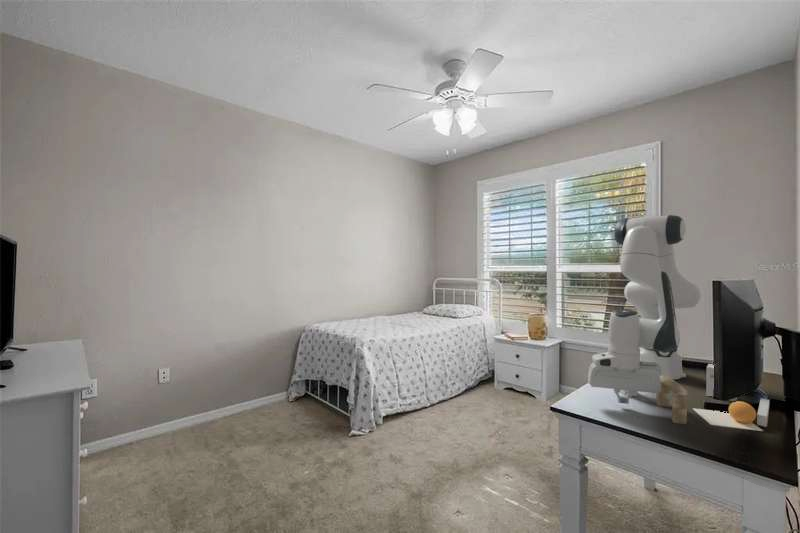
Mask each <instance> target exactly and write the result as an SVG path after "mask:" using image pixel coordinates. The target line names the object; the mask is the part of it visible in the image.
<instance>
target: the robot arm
mask: <svg viewBox="0 0 800 533" xmlns="http://www.w3.org/2000/svg"><path fill="white" fill-rule="evenodd" d="M686 226H687V225H686V224H685V221H684V220H683V217H681V216H679V215H673V214H669V215H647V216H639V217H632V218H628V217H627V218H624V219H620V220H618V221H617V223H616V224H615V225H614V229H613V237H614V240H615V242H616V243H617V244H618V245H620V246H622V248H621V252H620V263H619V264H620V265H619V266H620V271H621V273H622V275H623V276H624V277H625V278H626V279H628V280H629V282H627V284H626V285H625V287H624V290H623V293H624V294H623V295H624V298H625V299H626V301H627V302H628V303H630V304H631V305H632V306H633V307H634V308H635V309H636V310H637V311H638V312H637V311H636V310H634V309H629V308H617V309H615V310H612V311H611V312H610V317H609V322H608V340H609V345H608V348H607V351H605V352H601V353H595V354H593V355H592V357H591V358H592V363H591V364H590V365H589V368H588V372H587V373H588V374H587V381H588V384H589V385H590V386H591V387H593V388H600V389H601V388H602V389H612V390H613V391H614V394H615V396H616V397H617V398H616V400H617V403H618V404H626V405H627V404H630V399H631V397H633V396H632V395H633V391H638V392H640V393H641V392H642V393H649V394H650V393H652V394H657V393H659V392H660V391H661V380H660V376H661V375H668V376H669V377H670V378H671V379H673V380H679V379H681V378H687V374H686V373H685V372H683V363H682V356H681V355H680V354H679V353H678V348H679V347H680V341H681V334H680V333H681V332H680V330H679V327H678V323H677V316H676V311H675V310H676V309H693V308H695V307H696V306H697V305H698V304H699V303H700V301H701V297H702V296H701V291H700V288H699V286H697V285H696V284H695V283H694V282H691V281H689V280H688V279H686V278H685V277H684V276H683V275H682V274H681V273H680V272H679V270H678V269H677V266H676V261H675V254H674V245H675V244H678V243H680V242H681V241H683V239H684V237H685V235H686V231H687V228H686ZM639 315H640V317H639ZM620 390H626V391H627V392H628V393H627V394H626V396H625V395H623V396H622V395H620V394H619V393H621V392H620Z"/></svg>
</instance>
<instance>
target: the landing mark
mask: <svg viewBox="0 0 800 533" xmlns="http://www.w3.org/2000/svg"><path fill="white" fill-rule="evenodd" d="M692 410H693V411H694V412H695V413H697V414H698V415H699V417H701V418H702V419H704V420H705V421H706V422H707V423H708V424H709V425H711V426H714V427H715V426H716V427H722V428H723V427H724V428H730V429H731V428H732V429H733V428H734V429H738V430H739V429H741V430H749V431H750V430H751V431H759V432H764V430H763V429H762V428H760V427H759V425H757V424H755V423H753V422H750V423H741V422H738V421H736V420H735V419H733V418H732V417H731V415H730V414H729V413H727V412H728V411H723V412H720V411H721V410H714V411H713V410H712V409H703V408H694V407H692ZM724 412H726V413H724Z"/></svg>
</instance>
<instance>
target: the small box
mask: <svg viewBox="0 0 800 533" xmlns="http://www.w3.org/2000/svg"><path fill="white" fill-rule="evenodd" d="M713 364H714V363H708V364H707V366H706V379H705V380H706V383H705V384H706V388H705V389H706V390H705V392H706V394H705V395H706V396H705V397H708V396H713V389H714V365H715V364H714V365H713Z"/></svg>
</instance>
